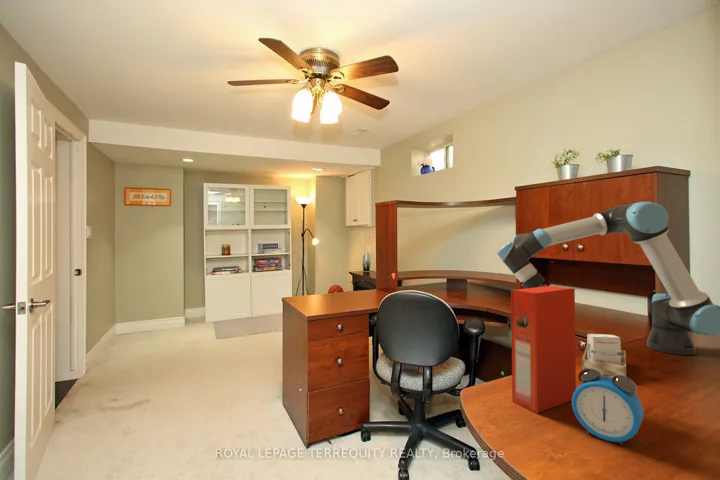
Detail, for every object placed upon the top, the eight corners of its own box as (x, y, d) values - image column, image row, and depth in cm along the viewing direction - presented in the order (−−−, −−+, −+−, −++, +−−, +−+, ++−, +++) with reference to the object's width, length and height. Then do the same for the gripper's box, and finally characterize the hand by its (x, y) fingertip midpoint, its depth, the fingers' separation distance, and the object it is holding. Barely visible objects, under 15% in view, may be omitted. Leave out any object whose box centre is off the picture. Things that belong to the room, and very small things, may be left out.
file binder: (511, 401, 100) (511, 289, 100) (549, 388, 108) (549, 285, 108) (537, 414, 93) (537, 293, 92) (575, 399, 101) (575, 288, 101)
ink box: (613, 367, 122) (613, 333, 122) (621, 373, 117) (621, 337, 117) (586, 366, 124) (586, 332, 123) (593, 371, 119) (593, 336, 118)
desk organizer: (625, 364, 128) (625, 339, 128) (626, 382, 112) (626, 354, 112) (586, 357, 135) (586, 334, 135) (581, 374, 119) (581, 347, 119)
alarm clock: (571, 429, 85) (571, 368, 85) (578, 420, 89) (578, 361, 89) (639, 453, 76) (639, 384, 76) (644, 441, 80) (644, 376, 80)
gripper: (527, 280, 148) (564, 323, 140) (514, 287, 128) (556, 337, 120) (543, 269, 145) (581, 313, 137) (532, 275, 124) (576, 326, 117)
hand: (570, 324), depth 128 cm, fingers open, 13 cm apart
